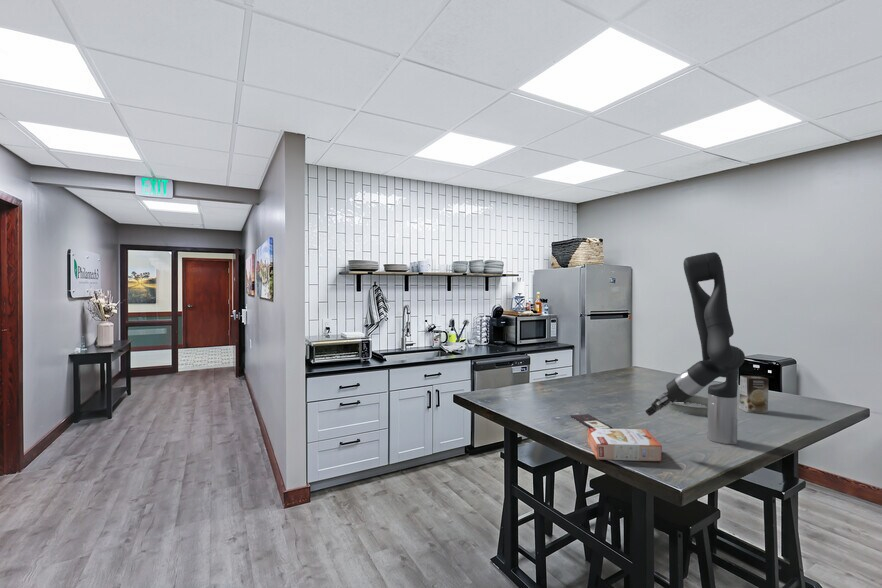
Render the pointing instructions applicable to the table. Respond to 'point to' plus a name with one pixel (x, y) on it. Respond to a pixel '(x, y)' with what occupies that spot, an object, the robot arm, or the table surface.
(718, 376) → the robot arm
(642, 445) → the cracker box
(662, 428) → the table surface
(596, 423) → the chocolate bar
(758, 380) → the coffee box
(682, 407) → the cake pan
